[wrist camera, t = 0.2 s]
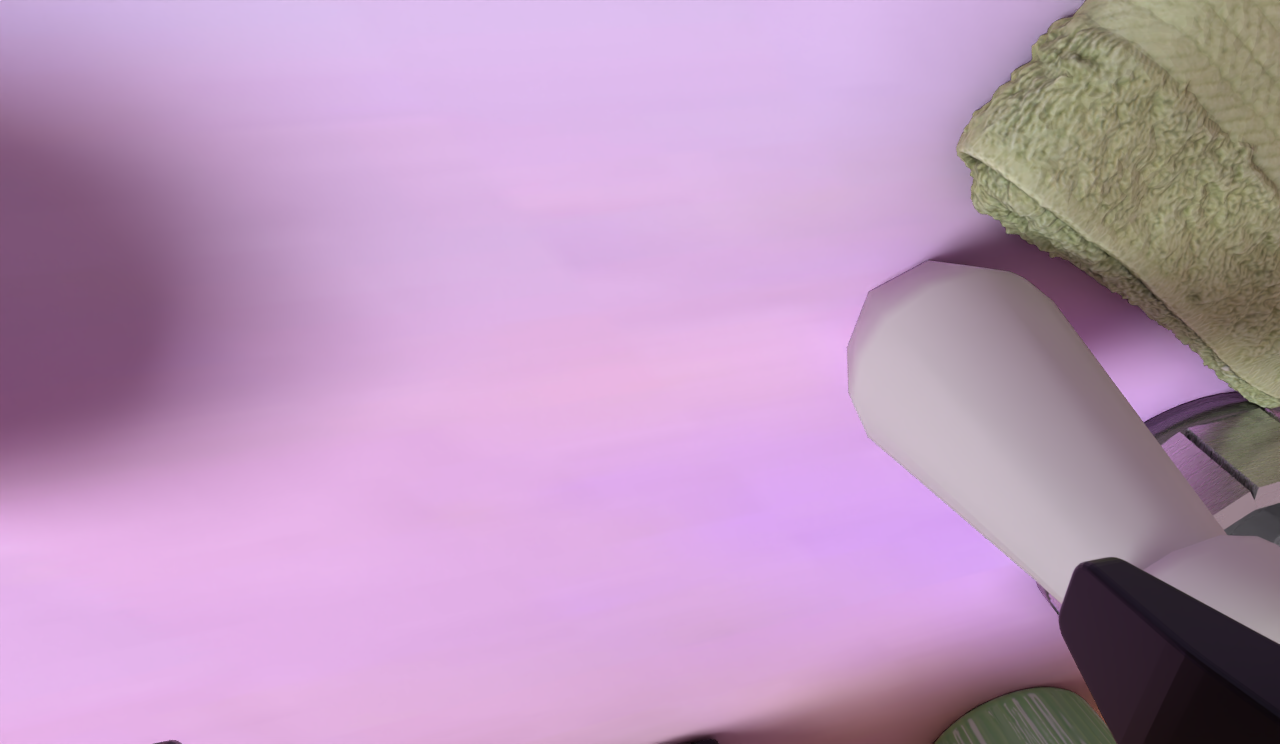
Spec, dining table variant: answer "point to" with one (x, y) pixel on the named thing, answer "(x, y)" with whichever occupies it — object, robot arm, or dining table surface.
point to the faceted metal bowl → (1225, 462)
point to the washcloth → (1152, 168)
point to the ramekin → (1030, 720)
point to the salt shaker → (1038, 440)
